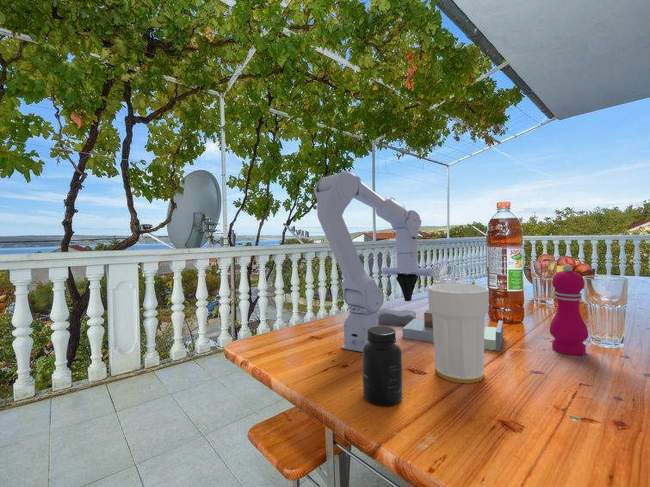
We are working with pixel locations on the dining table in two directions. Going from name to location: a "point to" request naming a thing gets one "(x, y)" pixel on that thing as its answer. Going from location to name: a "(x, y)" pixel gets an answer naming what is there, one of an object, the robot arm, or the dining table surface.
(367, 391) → the supplement bottle
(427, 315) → the walnut cube
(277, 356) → the dining table surface
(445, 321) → the cup
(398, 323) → the stone block
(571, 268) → the pepper mill
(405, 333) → the board
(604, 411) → the dining table surface
